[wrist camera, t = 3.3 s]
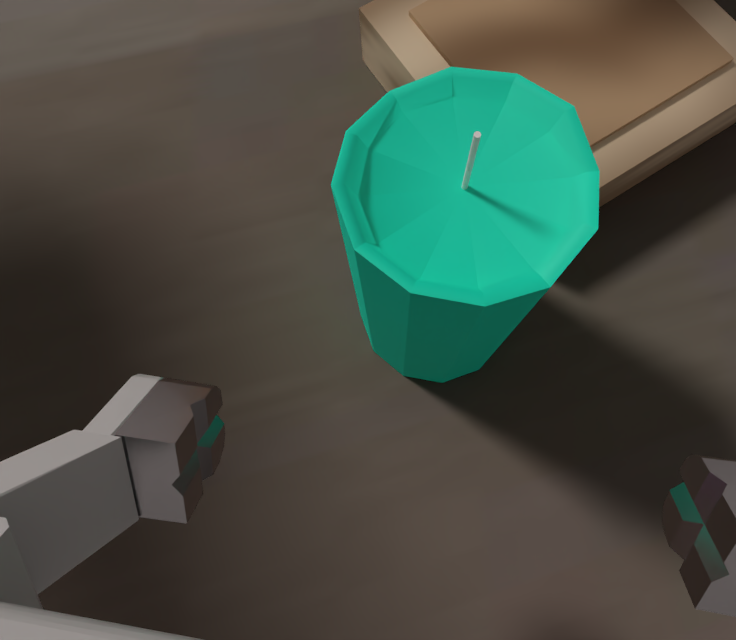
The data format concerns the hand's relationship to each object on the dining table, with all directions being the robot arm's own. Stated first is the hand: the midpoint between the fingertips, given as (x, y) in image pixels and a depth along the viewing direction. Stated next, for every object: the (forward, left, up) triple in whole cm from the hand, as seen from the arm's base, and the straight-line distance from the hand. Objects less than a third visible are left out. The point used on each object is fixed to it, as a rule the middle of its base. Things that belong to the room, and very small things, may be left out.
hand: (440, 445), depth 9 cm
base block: (-11, +14, -11) cm, 21 cm away
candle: (-5, +4, -11) cm, 13 cm away
